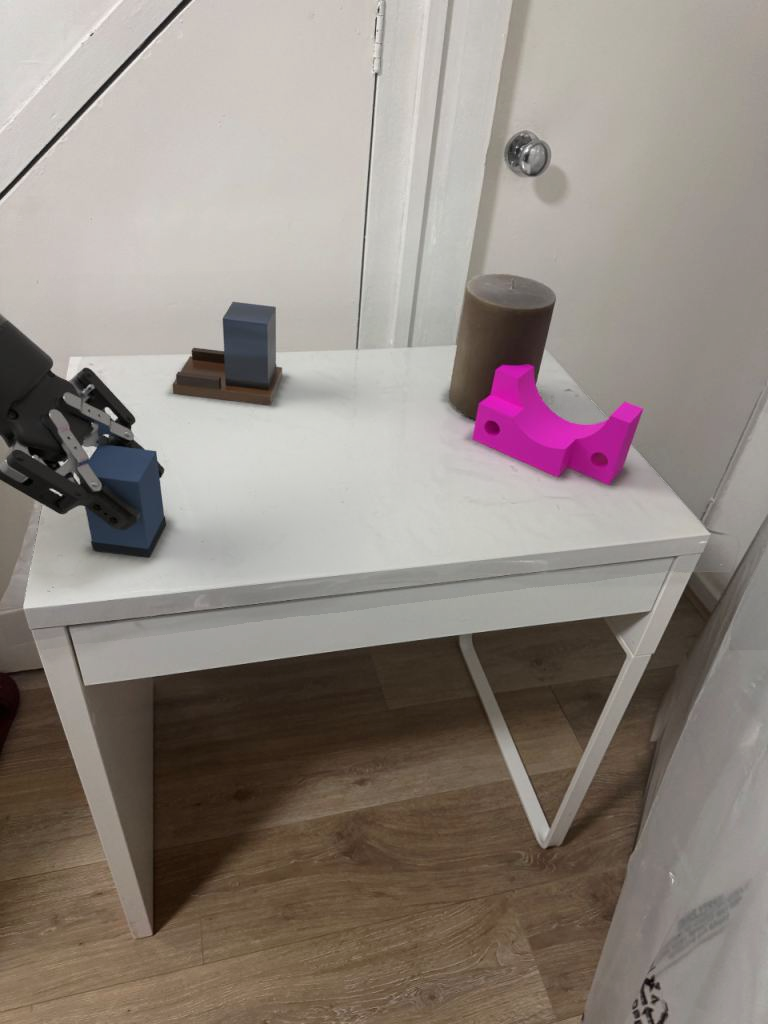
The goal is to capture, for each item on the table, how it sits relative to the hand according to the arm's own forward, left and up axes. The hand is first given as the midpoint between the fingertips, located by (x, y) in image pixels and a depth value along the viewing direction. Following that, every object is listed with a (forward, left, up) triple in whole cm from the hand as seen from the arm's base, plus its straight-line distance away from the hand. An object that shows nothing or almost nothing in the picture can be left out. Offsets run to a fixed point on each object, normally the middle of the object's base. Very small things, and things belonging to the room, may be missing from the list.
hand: (144, 499), depth 63 cm
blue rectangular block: (-2, 0, -4) cm, 5 cm away
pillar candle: (+35, +25, -4) cm, 43 cm away
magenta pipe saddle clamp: (+39, +15, -5) cm, 42 cm away
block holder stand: (+5, +27, -4) cm, 28 cm away
